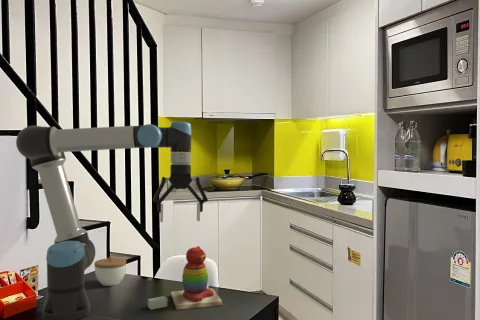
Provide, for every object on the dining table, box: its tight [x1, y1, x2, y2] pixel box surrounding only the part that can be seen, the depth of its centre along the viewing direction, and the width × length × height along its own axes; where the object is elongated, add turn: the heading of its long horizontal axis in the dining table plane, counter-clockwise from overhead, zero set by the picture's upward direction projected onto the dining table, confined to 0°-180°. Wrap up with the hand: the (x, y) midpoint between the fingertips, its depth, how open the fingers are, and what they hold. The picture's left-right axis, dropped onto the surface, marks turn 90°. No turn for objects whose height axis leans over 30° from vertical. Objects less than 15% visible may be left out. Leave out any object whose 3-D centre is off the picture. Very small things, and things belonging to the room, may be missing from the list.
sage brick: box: [147, 295, 168, 310], centre depth 159 cm, size 6×3×3 cm, turn 120°
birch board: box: [170, 287, 223, 311], centre depth 166 cm, size 16×16×2 cm
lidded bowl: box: [94, 256, 127, 287], centre depth 188 cm, size 13×13×11 cm
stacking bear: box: [181, 245, 214, 302], centre depth 166 cm, size 11×10×18 cm
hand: (180, 221), depth 169 cm, fingers open, 13 cm apart
